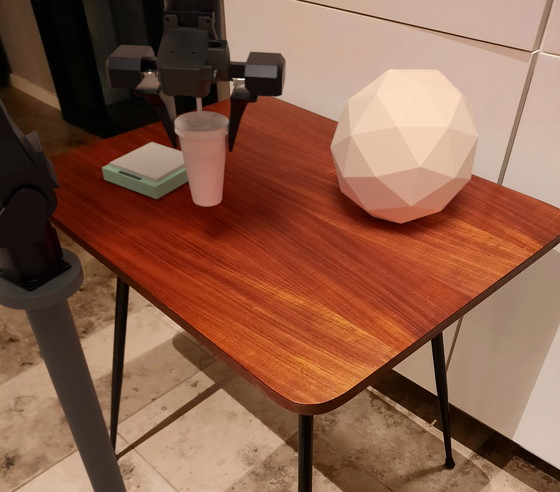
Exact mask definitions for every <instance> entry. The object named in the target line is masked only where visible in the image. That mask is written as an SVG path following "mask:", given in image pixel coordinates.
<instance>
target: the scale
mask: <svg viewBox="0 0 560 492" xmlns="http://www.w3.org/2000/svg"><path fill="white" fill-rule="evenodd" d="M101 170H102V171H101V172H102V175H103V180H104V181H106V182H108V183H109V182H110V183H112V184H115V185H117V186H120V187H122V188H126V189H128V190H131V191H134V192H136V193H139V194H142V195H144V196H147V197H149V198H152V199H155V200H159V199H160V198H162V197H164V196H166V195H167V194H169V193H170V192H172V191H174V190H175V189H177V188H179V187H180V186H183V185H184V184H186V183H189V181H188V176H187V172H186V167H185V163H184V158H183V154H182V150H178V149H174V148H173V147H169V146H167V145H163V144H159V143H157V142H153V141H151V142H148V143H147V144H144V145H142V146H141V147H138V148H136V149H135V150H132V151H130V152H128V153H126V154H124V155H121V156H120V157H118V158H116V159H113V160H112V161H109V163H108V164H106V165H104V166H102V167H101Z"/></svg>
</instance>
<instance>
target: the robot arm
mask: <svg viewBox="0 0 560 492" xmlns="http://www.w3.org/2000/svg"><path fill="white" fill-rule="evenodd" d="M222 1H223V0H163V2H164V3H163V4H164V9H163V10H162V11H163V31H162V36H161V40H160V45H159V48H158V51H157V54H156V55H157V56H155V52H154V50H153V47H152V46H150V45H134V44H133V45H132V44H120V45H119V46H118V47H117V48H115V50H114V51H113V52H112V53H111V54H110V55H109V56H108V58H107V59H106V60H105V67H104V71H105V77H106V82H107V86H108V87H109V88H111V89H112V88H114V89H129V90H130V89H132V90H133V94H134V95H135V96H136V97H138V98H139V97H141V98H143V99H144V100H145V101H147V102H148V103H149V104H150V105H151V106H152V108H153V110H154V111H155V113H156V114H157V116H158V118H159V120H160V122H161V124H162V127H163V128H164V130H165V133H166V135H167V137H168V139H169V142H170V143H171V146H172V149H175V150H178V148H179V146H180V140H179V135H177V134H176V132H175V124H174V121H175V119H176V118H177V117H178V116H177V111H176V104H175V97H176V96H187V97H193V98H194V99H196V98H201V99H203V98H205V97H208V95H209V94H210V92H211V84H218V82H225V83H226V82H232V86H233V89H232V91H231V94H230V96H229V107H230V108H229V133H228V134H227V146H228V152H229V153H232V152H233V151H234V147H235V144H236V140H237V136H238V132H239V130H240V125H241V121H242V118H243V115H244V113H245V110H246V108H247V106H248V104H255V103H257V102H258V101H259V98H260V97H272V98H273V97H274V98H277V97H281V96H282V95H283V93H284V87H285V82H286V67H287V66H286V65H287V64H286V63H287V62H286V61H287V60H286V58H285V57H284V56H283V54H282V53H281V52H265V51H250V52H249V54H248V56H247V59H246V61H236V60H235V61H233V60H231V52H230V51H231V50H230V47H229V43H228V40H227V39H224V30H223V29H224V28H223V27H224V26H223V24H224V23H223V3H222ZM60 188H61V186H60V184H59V181H58V176H57V173H56V170H55V167H54V163H53V161H52V160H51V159H50V158H49V157H48V156H47V155H46V153H45V151H44V150H43V147H42V144H41V140H40V137H39V134H38V131H37V130H33V131H31V132H29V133H27V134H24V133H23V131H22V130H21V129H20V128H19V127H18V126H17V125H16V123H15V121H14V120H13V119H12V118H11V116H10V114H9V111H8V110H7V108H6V105H5V104H4V102H3V99H2V98H1V97H0V277H1V278H3V279H5V280H7V281H9V282H11V283H13V284H14V285H16V286H18V287H20V288H22V289H24V290H26V291H28V292H31V291H34V290H36V289H37V288H39V287H41V286H42V285H44V284H46V283H47V282H49V281H50V280H52V279H54V278H55V277H57V276H59V275H60V274H62V273H64V272H65V271H67V270H69V269H70V268H71V267H72V266H71V263H70V262H68V261H65V260H63V259H62V258H63V252H62V248H63V247H62V245H61V242H60V238H59V234H58V232H57V228H56V227H55V226H53V225H52V222H51V219H50V218H51V217H52V216H53V215H54V213H55V212H56V209H57V208H58V198H57V193H56V189H57V190H59V189H60Z"/></svg>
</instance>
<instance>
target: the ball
mask: <svg viewBox="0 0 560 492" xmlns="http://www.w3.org/2000/svg"><path fill="white" fill-rule="evenodd" d="M478 140H479V133H478V129H477V124H476V119H475V114H474V110H473V105H472V101H471V100H469V98H468V97H466V95H464V94H463V93H462V91H461V90H460V89H458V88H457V86H456V85H454V83H452V82H451V80H449V79H448V78H447V77H446V76H445V75H444V74H443V73H442V72H441V71H440V70H439V69H412V68H411V69H407V68H405V69H404V68H389V69H388V70H386V71H385V72H384V73H382V74H381V75H380V76H378V77H377V78H375V79H374V80H373V81H372V82H370V83H369V84H367V85H366V86H364V87H363V88H362V89H361V90H360V91H358V92H357V93H355V94H354V95H352V96H351V97H350V98H349V99H348V100H347V102H346V103H345V106H344V108H343V110H342V112H341V115H340V117H339V119H338V122H337V124H336V128H335V132H334V134H333V136H332V141H331V144H330V152H331V157H332V161H333V164H334V168H335V173H336V178H337V181H338V186H339V189H340V192H341V193H342V194H344V196H346V197H347V198H349V199H350V200H351V201H353V202H354V203H355V204H356V205H357V206H358V207H360V208H361V209H363V210H364V211H365V212H366V213H368V214H369V215H370V216H372V217H373V218H376V219H380V220H384V221H389V222H393V223H397V224H404V223H407V222H410V221H413V220H418V219H420V218H423V217H427V216H429V215H432V214H435V213H440V212H441V211H442V210H444V209H445V207H446V206H447V205H448V204H449V203H450V202H451V200H452V199H454V198H455V197H456V195H457V194H458V193H459V192H460V191H461V190H462V189H463V188H464V187H465V186H466V184H468V183H469V182H470V180H471V179H472V173H473V168H474V164H475V163H474V162H475V157H476V153H477V147H478Z"/></svg>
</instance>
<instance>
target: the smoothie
mask: <svg viewBox="0 0 560 492" xmlns="http://www.w3.org/2000/svg"><path fill="white" fill-rule="evenodd" d="M195 99H196V100H195V101H196V111H190V112H185V113H183V114H180V115H179V116H176V117H177V118H176V119H175V121H174V124H175V132H176V134H177V135H179V146H180V148H181V152H182V154H183V158H184V163H185V167H186V172H187V176H188V185H189V189H190V193H191V199H192V202H193V203H194V204H195V205H197V206H200V207H213V206H217V205H218V204H220V203H221V202H222V201H223V191H224V179H225V178H224V177H225V166H226V165H225V164H226V153H227V152H226V151H227V143H228V133H229V120H230V118H228V117H227V116H226V115H224V114H222V113H219V112H215V111H209V110H208V111H207V110H203V104H202V103H203V102H202V98H195Z"/></svg>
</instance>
